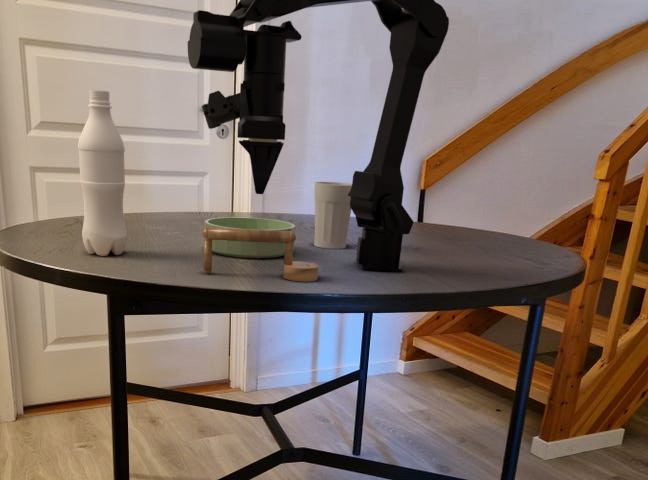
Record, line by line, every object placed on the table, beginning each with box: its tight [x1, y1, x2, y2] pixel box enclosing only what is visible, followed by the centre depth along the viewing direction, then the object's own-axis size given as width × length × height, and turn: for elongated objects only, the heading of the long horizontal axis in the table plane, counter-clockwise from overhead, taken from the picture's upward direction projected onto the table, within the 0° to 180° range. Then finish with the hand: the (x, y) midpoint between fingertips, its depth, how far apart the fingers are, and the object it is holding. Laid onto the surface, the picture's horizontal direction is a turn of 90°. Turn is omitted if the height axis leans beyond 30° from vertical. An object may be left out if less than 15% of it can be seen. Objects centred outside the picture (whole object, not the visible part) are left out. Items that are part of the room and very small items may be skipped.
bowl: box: [203, 216, 296, 259], centre depth 112 cm, size 16×16×5 cm
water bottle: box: [77, 89, 128, 257], centre depth 99 cm, size 7×7×25 cm
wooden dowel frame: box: [201, 227, 320, 283], centre depth 92 cm, size 18×5×7 cm, turn 91°
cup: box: [313, 181, 352, 250], centre depth 120 cm, size 8×8×12 cm
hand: (259, 191), depth 91 cm, fingers open, 9 cm apart
